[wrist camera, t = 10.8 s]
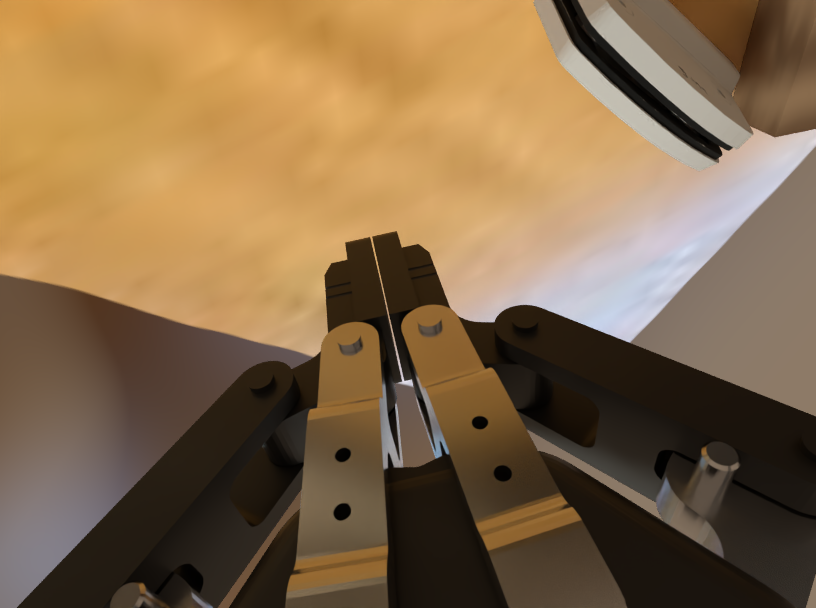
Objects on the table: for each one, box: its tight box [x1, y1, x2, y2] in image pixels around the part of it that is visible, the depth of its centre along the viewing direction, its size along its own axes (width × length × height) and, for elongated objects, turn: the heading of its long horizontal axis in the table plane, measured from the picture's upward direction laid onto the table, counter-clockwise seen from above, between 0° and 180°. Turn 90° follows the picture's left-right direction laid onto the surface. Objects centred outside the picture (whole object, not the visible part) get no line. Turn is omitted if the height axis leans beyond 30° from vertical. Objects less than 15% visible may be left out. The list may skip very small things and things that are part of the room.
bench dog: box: [733, 0, 816, 137], centre depth 34 cm, size 12×4×5 cm, turn 8°
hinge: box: [533, 0, 753, 171], centre depth 32 cm, size 17×5×10 cm, turn 59°
